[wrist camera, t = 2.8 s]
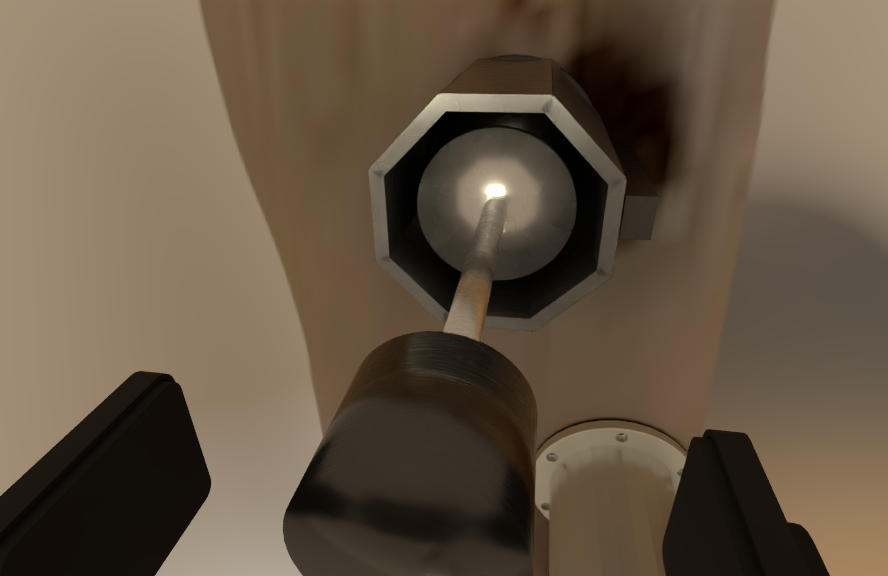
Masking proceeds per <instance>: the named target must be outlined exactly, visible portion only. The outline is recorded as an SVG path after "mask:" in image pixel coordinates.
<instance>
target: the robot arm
mask: <svg viewBox="0 0 888 576" xmlns="http://www.w3.org/2000/svg"><path fill="white" fill-rule="evenodd" d="M210 488H211V478H210V475H209V472H208V469H207V466H206V463H205V459H204V456H203V453H202V450H201V447H200V444H199V441H198V438H197V435H196V432H195V429H194V426H193V422H192V419H191V416H190V413H189V410H188V407H187V404H186V401H185V398H184V395H183V392H182V389H181V386H180V385H179V384H178V383H176V382H175V381H174V379H173V377H172V376H171V375H169V374H164V373H154V372H144V371H139V372H135V373H134V374H132V375H131V376H130V377H129V378H128V379H127V380H125V382H123V383H122V384H121V385H120V386H119V387H118V388H117V389H116V390H115V391H114V392H113V393H111V394H110V395H109V396H108V397H107V398H106V399H105V400H104V401H103V402H102V403H101V404H100V405H98V407H96V408H95V409H94V410H93V411H92V412H91V413H90V414H89V415H88V416H87V417H86V418H84V419H83V421H81V422H80V423H79V424H78V425H77V426H76V427H75V428H74V429H73V430H71V431H70V432H69V433H68V434H67V435H66V436H65V437H64V438H63V439H62V440H61V441H60V442H59V443H57V444H56V445H55V446H54V447H53V448H52V449H51V450H50V451H49V452H48V453H47V454H46V455H45V456H43V457H42V458H41V459H40V460H39V461H38V462H37V463H36V464H35V465H34V466H33V467H31V469H29V470H28V471H27V472H26V473H25V474H24V475H23V476H22V477H21V478H20V479H19V480H17V482H15V483H14V484H13V485H12V486H11V487H10V488H9V489H8V490H7V491H6V492H4V493H3V494H2V495H1V496H0V576H155V575H156V573H157V571H158V570H159V569H160V567H161V566H162V564H163V562H164V561H165V560H166V558H167V557H168V555H169V554H170V552H171V551H172V549H173V548H174V546H175V545H176V543H177V542H178V540H179V539H180V537H181V536H182V534H183V533H184V531H185V530H186V528H187V527H188V525H189V524H190V522H191V521H192V519H193V518H194V516H195V515H196V513H197V512H198V510H199V509H200V508H201V506H202V504H203V503H204V502H205V500H206V498H207V497H208V494H209V492H210ZM535 505H536V506H537V508H538V509H539V510H540V512H541V513H542V514H543V515H544V516H545V517H546V518H547V519H548V520H549V576H830V575H829V573H828V571H827V569H826V567H825V565H824V563H823V560H822V558H821V556H820V554H819V552H818V550H817V548H816V546H815V544H814V542H813V540H812V538H811V537H810V535H809V533H808V532H807V531H806V530H805V529H804V528H803V527H802V526H801V525H799V524H795V523H789V522H787V521H786V519H785V516H784V514H783V512H782V510H781V507H780V505H779V503H778V501H777V498H776V496H775V494H774V492H773V490H772V487H771V485H770V483H769V480H768V478H767V476H766V474H765V472H764V469H763V467H762V465H761V463H760V461H759V458H758V457H757V454H756V452H755V449H754V447H753V445H752V442H751V440H750V439H749V437H748V435H746V434H745V433H740V432H730V431H720V430H711V429H708V430H706V431H705V432H704V434H703V437H702V438H701V437H693V438H692V440H691V443H690V446H689V450H688V454H687V453H686V452H685V451H684V450H683V449H682V448H681V446H680V445H679V444H678V443H676V442H675V441H674V440H672V439H671V438H669V437H668V436H667V435H665V434H663V433H661V432H659V431H657V430H655V429H652V428H650V427H647V426H643V425H640V424H637V423H632V422H625V421H594V422H587V423H582V424H579V425H576V426H573V427H569V428H567V429H565V430H563V431H561V432H559V433H557V434H556V435H554V436H553V437H551V438H550V439H549V440H547V441H546V442H545V443H544V444H543V445H542V447H541V448H540V449H539V450H538V451H537V453H536V482H535Z"/></svg>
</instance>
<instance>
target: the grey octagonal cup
mask: <svg viewBox="0 0 888 576" xmlns="http://www.w3.org/2000/svg"><path fill="white" fill-rule="evenodd" d="M494 125H501V126H511V127H515V128H520V129H523V130H525V131H528V132H531V133H533V134H534V135H536V136H538V137H540V138H541V139H543V140H544V141H546V142H547V143H548V144H550V145H551V146H552V147H553V148H554V149H555V150H556V151H557V152H558V154H559V155H560V156H561V157H562V159H563V160H564V162H565V164H566V165H567V167H568V169H569V171H570V174H571V176H572V178H573V182H574V186H575V192H576V202H577V207H576V218H575V223H574V226H573V229H572V232H571V235H570V237H569V239H568V241H567V243H566V244H565V245H564V247H563V248H562V250H561V251H560V252H559V253H558V255H557V256H556V257H555V258H554V259H553V260H551V261H550V262H549V263H548V264H547V265H545V266H544V267H542V268H541V269H539V270H537V271H535V272H533V273H531V274H529V275H526V276H523V277H519V278H515V279H509V280H493V282H492V287H491V292H490V297H489V302H488V307H487V312H486V317H485V322H484V327H483V328H495V329H507V330H520V331H532V332H534V330H535V331H536V330H538V329H539V328H541V327H542V326H543V325H545V324H546V323H548V322H549V321H550V320H552V319H553V318H555V317H556V316H558V315H559V314H560V313H562V312H563V311H565V310H566V309H568V308H569V307H570V306H572V305H573V304H575V303H576V302H578V301H579V300H580V299H582V298H583V297H585V296H586V295H587V294H589V293H590V292H592V291H593V290H595V289H596V288H597V287H599V286H600V285H602V284H603V283H605V282H606V281H607V280H609V279H610V278H611V277H612V273H613V266H614V260H615V253H616V247H617V240H618V234H619V238H622V239H641V240H651V236H652V230H653V225H654V219H655V214H656V208H657V203H658V198H659V197H658V195H657V193H656V191H655V189H654V187H653V186H652V184H651V182H650V180H649V178H648V176H647V175H646V173H645V171H644V169H643V167H642V165H641V163H640V162H639V160H638V158H637V156H636V154H635V152H634V151H633V149H632V147H627V146H613V145H612V143H611V141H610V138H609V136H608V133H607V131H606V129H605V126H604V124H603V121H602V119H601V117H600V114H599V113H598V112H597V111H596V110H595V108H594V107H593V105H592V103H591V101H590V99H589V97H588V96H587V94H586V92H585V91H584V90H583V88H582V87H581V86H580V84H579V83H578V82H577V81H576V80H575V79H574V78H573V77H572V76H571V75H570V74H569V73H567V72H566V71H565V70H563V69H562V68H560V67H559V66H558V65H557V64H556V63H555V62H554V61H553V60H552V59H541V58H537V57H533V56H528V55H516V54H515V55H503V56H498V57H493V58H490V59H479V60H477V61H476V62H475V63H473V64H472V65H471V66H470V67H469V68H468V69H467V70H465V71H464V72H463V73H461V74H460V75H459V76H458V77H457V78H456V79H455V80H454V81H452V82H451V83H450V84H449V85H448V86H447V87H446V88H445V89H443V90H442V91H441V92H440V93H439V94H438V95H437V96H436V97H435V98H434V99H433V100H432V101H431V102H430V103H429V104H428V106H427V107H426V108H425V109H424V110H423V111H422V112H421V113H420V114H419V115H418V116H417V117H416V119H415V120H414V121H413V122H412V123H411V124H410V125H409V126H408V127H407V128H406V129H405V130H404V131H403V133H402V134H401V135H400V136H399V137H398V138H397V139H396V140H395V141H394V142H393V143H392V144H391V145H390V147H389V148H388V149H387V150H386V151H385V152H384V153H383V154H382V155H381V156H380V157H379V158H378V159H377V161H376V162H375V163H374V164H373V165H372V166H371V167H370V168H369V170H368V172H369V184H370V196H371V208H372V220H373V232H374V244H375V256H376V262H377V264H378V265H380V266H381V267H382V268H383V269H384V270H385V271H386V272H387V273H388V274H389V275H390V276H391V277H392V278H394V279H395V280H396V281H397V282H398V283H399V284H400V285H401V286H402V287H403V288H404V289H405V290H406V291H408V292H409V293H410V294H411V295H412V296H413V297H414V298H415V299H416V300H417V301H418V302H419V303H420V304H422V305H423V306H424V307H425V308H426V309H427V310H428V311H429V312H430V313H431V314H432V315H433V316H435V317H436V318H437V319H438V320H439V321H440V322H441V323H444V324H446V321H447V318H448V315H449V312H450V309H451V306H452V303H453V300H454V296H455V293H456V290H457V287H458V284H459V281H460V278H461V274H462V272H461V271H459V270H457V269H455V268H454V267H452V266H451V265H449V264H448V263H447V262H445V261H444V260H443V259H442V258H441V257H440V256H439V255H438V254H437V253H436V252H435V251H434V249H433V248H432V247H431V245H430V244H429V242H428V241H427V239H426V237H425V235H424V233H423V230H422V228H421V225H420V221H419V217H418V209H417V196H418V190H419V185H420V182H421V179H422V176H423V174H424V172H425V170H426V168H427V166H428V165H429V163H430V162H431V160H432V159H433V157H434V156H435V155H436V154H437V152H438V151H439V150H440V149H441V148H442V147H443V146H444V145H445V144H446V143H448V142H449V141H450V140H452V139H453V138H455V137H456V136H458V135H460V134H462V133H464V132H466V131H469V130H472V129H475V128H478V127H484V126H494Z"/></svg>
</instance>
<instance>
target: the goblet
mask: <svg viewBox="0 0 888 576" xmlns="http://www.w3.org/2000/svg"><path fill="white" fill-rule="evenodd" d="M576 207H577V202H576V192H575V186H574V182H573V178H572V176H571V174H570V171H569V169H568V167H567V165H566V164H565V162H564V160H563V159H562V157H561V156H560V155H559V154H558V152H557V151H556V150H555V149H554V148H553V147H552V146H551V145H550V144H548V143H547V142H546V141H544V140H543V139H541V138H540V137H538V136H536V135H534V134H533V133H531V132H528V131H525V130H523V129H520V128H515V127H511V126H501V125H494V126H484V127H478V128H475V129H472V130H469V131H466V132H464V133H462V134H460V135H458V136H456V137H455V138H453V139H452V140H450V141H449V142H448V143H446V144H445V145H444V146H443V147H442V148H441V149H440V150H439V151H438V152H437V154H436V155H435V156H434V157H433V159H432V160H431V162H430V163H429V165H428V166H427V168H426V170H425V172H424V174H423V176H422V179H421V182H420V185H419V190H418V196H417V209H418V217H419V221H420V225H421V228H422V230H423V233H424V235H425V237H426V239H427V241H428V242H429V244H430V245H431V247H432V248H433V249H434V251H435V252H436V253H437V254H438V255H439V256H440V257H441V258H442V259H443V260H444V261H445V262H447V263H448V264H449V265H451V266H452V267H454V268H455V269H457V270H459V271H461V272H462V274H461V278H460V281H459V284H458V287H457V290H456V293H455V296H454V300H453V303H452V306H451V309H450V312H449V315H448V318H447V321H446V325H445V328H444V331H443V332H433V331H426V332H415V333H410V334H406V335H402V336H399V337H396V338H393V339H391V340H389V341H387V342H385V343H383V344H382V345H380V346H379V347H377V348H376V349H374V350H373V351H372V352H371V353H370V354H369V355H368V356H367V357H366V358H365V360H364V361H363V362H362V364H361V365H360V367H359V369H358V371H357V373H356V375H355V377H354V379H353V381H352V383H351V385H350V387H349V389H348V391H347V392H346V394H345V396H344V398H343V400H342V402H341V404H340V406H339V408H338V410H337V412H336V414H335V416H334V418H333V420H332V422H331V424H330V425H329V427H328V429H327V431H326V433H325V435H324V437H323V439H322V441H321V443H320V445H319V447H318V449H317V451H316V453H315V455H314V457H313V458H312V461H311V462H310V464H309V466H308V468H307V470H306V472H305V474H304V476H303V478H302V480H301V482H300V484H299V486H298V488H297V490H296V492H295V493H294V495H293V497H292V499H291V501H290V503H289V506H288V507H287V509H286V512H285V516H284V520H283V534H284V541H285V544H286V547H287V550H288V553H289V555H290V557H291V559H292V561H293V562H294V564H295V565H296V566H297V568H298V570H299V571H300V572H301V574H302V575H303V576H533V548H534V515H535V482H536V449H537V405H536V400H535V397H534V394H533V391H532V389H531V387H530V385H529V383H528V381H527V380H526V379H525V377H524V376H523V374H522V373H521V372H520V370H519V369H518V368H517V367H516V366H515V365H514V364H513V363H512V362H511V361H510V360H508V359H507V358H506V357H505V356H504V355H502V354H501V353H499V352H498V351H496V350H495V349H493V348H492V347H490V346H488V345H486V344H484V343H482V342H481V337H482V332H483V327H484V322H485V317H486V312H487V307H488V302H489V297H490V292H491V287H492V282H493V280H509V279H515V278H519V277H523V276H526V275H529V274H531V273H533V272H535V271H537V270H539V269H541V268H542V267H544V266H545V265H547V264H548V263H549V262H550V261H551V260H553V259H554V258H555V257H556V256H557V255H558V253H559V252H560V251H561V250H562V248H563V247H564V245H565V244H566V243H567V241H568V239H569V237H570V235H571V232H572V229H573V226H574V223H575V218H576Z"/></svg>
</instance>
